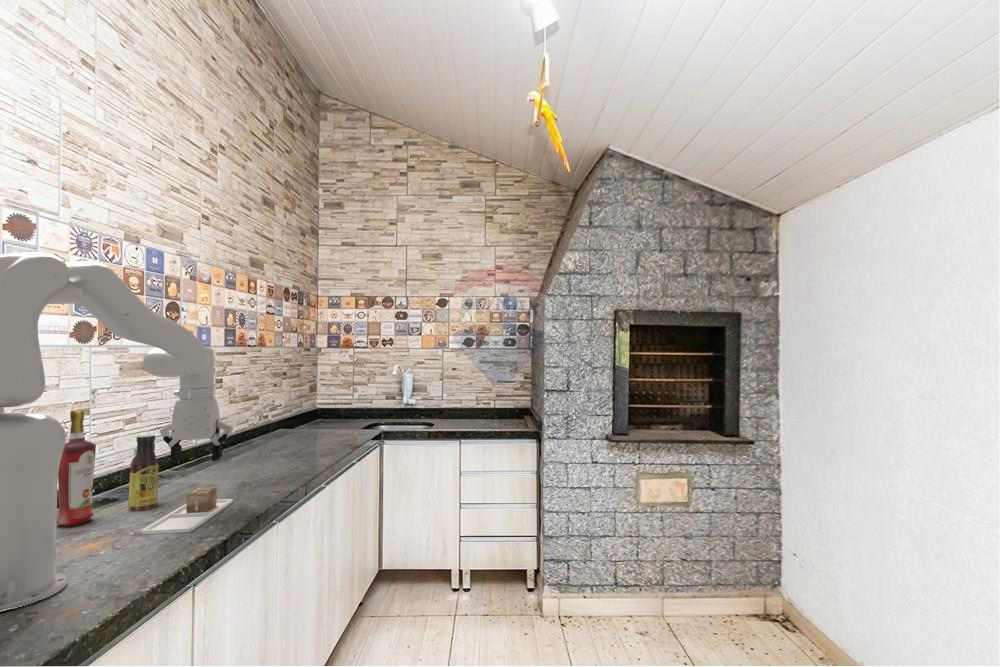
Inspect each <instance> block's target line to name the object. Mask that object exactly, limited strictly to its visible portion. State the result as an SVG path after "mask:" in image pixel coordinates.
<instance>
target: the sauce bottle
mask: <svg viewBox="0 0 1000 667" xmlns="http://www.w3.org/2000/svg"><path fill="white" fill-rule="evenodd" d="M155 441H156V435H155V434H146V435H145V434H144V435H143V434H142V435H137V436H136V444H137V445H136V452H135V453H136V454H135V456H134V457H133V458H132V460H131V462H130V471H129V482H128V483H129V485H128V504H127V505H128V511H129V512H141V511H146V510H151V509H154V508H155V507H156V506H157V503H158V490H159V468H160V465H159V462H158V460H157V457H156V453H155Z"/></svg>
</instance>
